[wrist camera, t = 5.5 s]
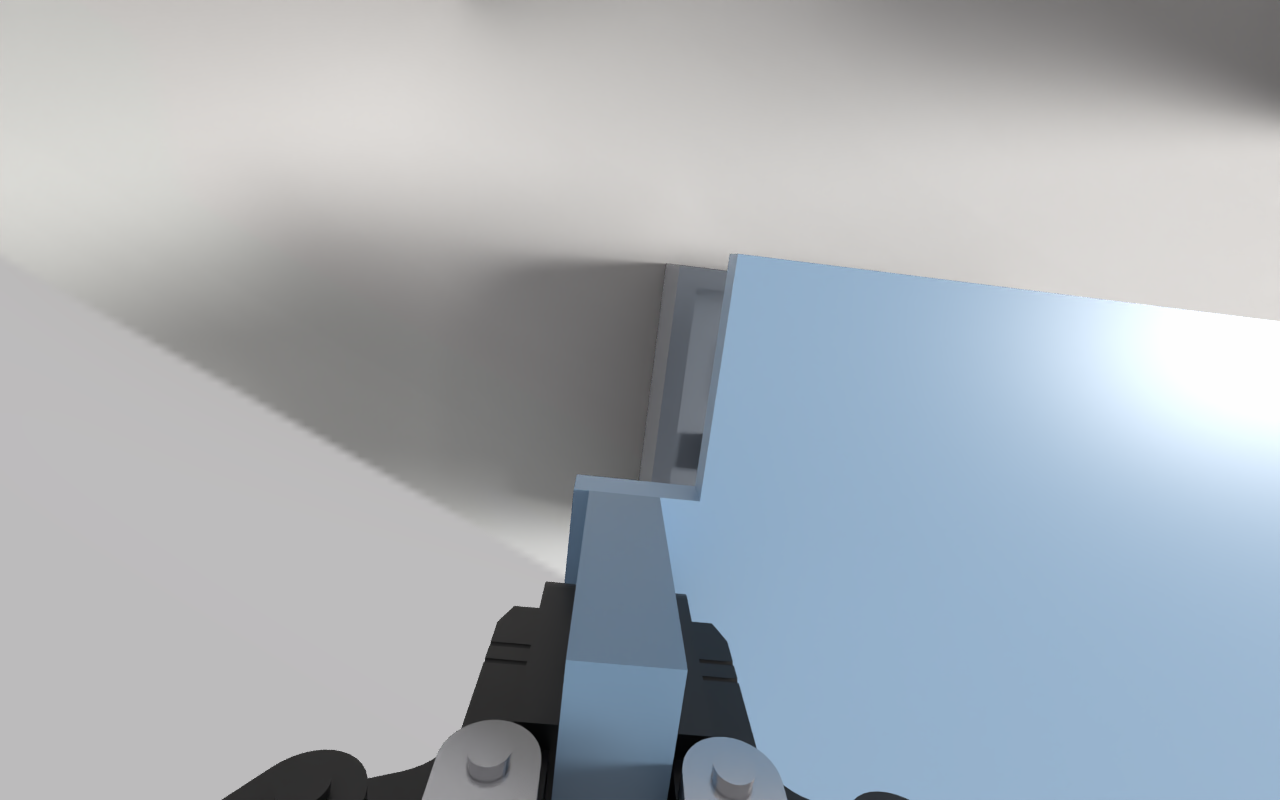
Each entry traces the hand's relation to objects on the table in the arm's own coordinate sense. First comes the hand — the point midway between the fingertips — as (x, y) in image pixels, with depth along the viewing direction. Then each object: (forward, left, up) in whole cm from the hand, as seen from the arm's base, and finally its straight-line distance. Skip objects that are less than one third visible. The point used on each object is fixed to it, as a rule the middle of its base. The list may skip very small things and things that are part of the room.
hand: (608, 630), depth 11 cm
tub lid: (0, +10, -3) cm, 10 cm away
